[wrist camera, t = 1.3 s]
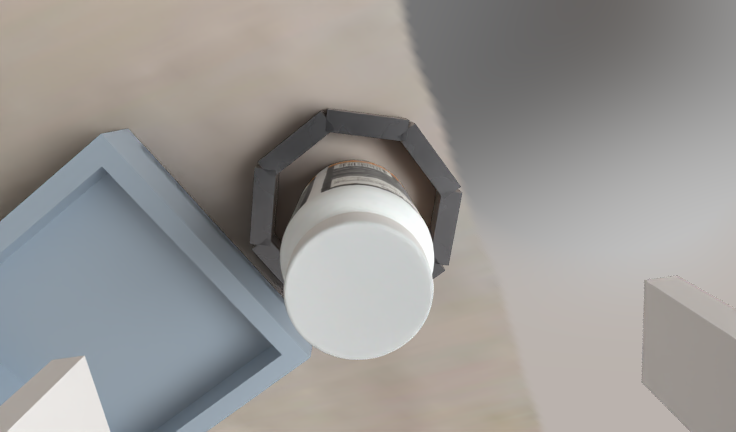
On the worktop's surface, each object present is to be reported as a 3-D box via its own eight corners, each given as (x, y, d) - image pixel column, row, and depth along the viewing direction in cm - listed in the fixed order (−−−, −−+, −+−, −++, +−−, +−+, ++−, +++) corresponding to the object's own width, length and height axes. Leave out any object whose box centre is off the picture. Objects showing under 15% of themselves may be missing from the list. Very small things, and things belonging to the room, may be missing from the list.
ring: (215, 195, 23) (208, 201, 22) (373, 69, 22) (374, 67, 21) (339, 334, 25) (339, 346, 24) (488, 227, 24) (495, 234, 23)
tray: (-79, 306, 24) (-126, 330, 22) (128, 128, 22) (101, 133, 20) (119, 472, 27) (96, 509, 25) (314, 331, 25) (310, 357, 23)
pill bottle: (352, 284, 25) (353, 408, 15) (275, 208, 23) (224, 292, 14) (432, 214, 24) (488, 300, 14) (358, 132, 22) (364, 165, 13)
